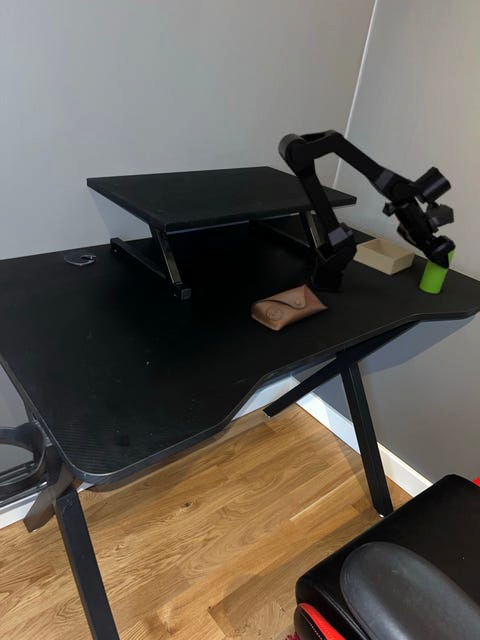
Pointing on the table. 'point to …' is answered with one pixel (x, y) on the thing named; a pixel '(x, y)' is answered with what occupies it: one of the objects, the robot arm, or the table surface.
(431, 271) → the drink can
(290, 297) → the sunglasses case
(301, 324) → the table surface
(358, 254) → the tote
